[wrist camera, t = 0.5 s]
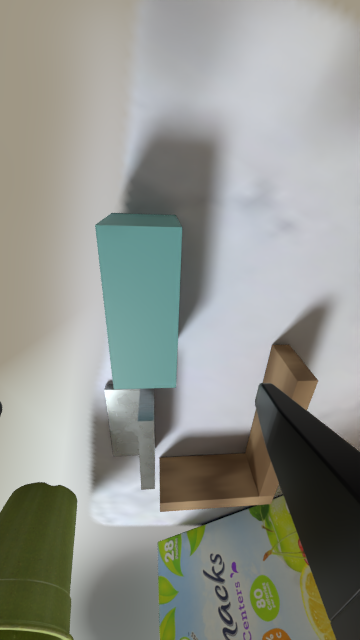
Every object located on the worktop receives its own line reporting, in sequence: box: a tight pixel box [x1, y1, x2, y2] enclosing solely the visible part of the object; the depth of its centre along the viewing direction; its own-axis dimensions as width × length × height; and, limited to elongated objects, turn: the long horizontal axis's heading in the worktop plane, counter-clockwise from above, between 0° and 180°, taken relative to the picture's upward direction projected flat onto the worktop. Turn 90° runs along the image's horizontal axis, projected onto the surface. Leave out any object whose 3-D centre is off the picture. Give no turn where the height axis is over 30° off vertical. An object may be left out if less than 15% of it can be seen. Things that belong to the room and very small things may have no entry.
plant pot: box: [0, 482, 77, 640], centre depth 25 cm, size 12×12×11 cm
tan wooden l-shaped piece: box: [160, 345, 318, 512], centre depth 23 cm, size 11×16×4 cm
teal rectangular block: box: [95, 213, 182, 389], centre depth 17 cm, size 4×10×5 cm, turn 178°
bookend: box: [105, 385, 155, 490], centre depth 23 cm, size 4×9×4 cm, turn 178°
